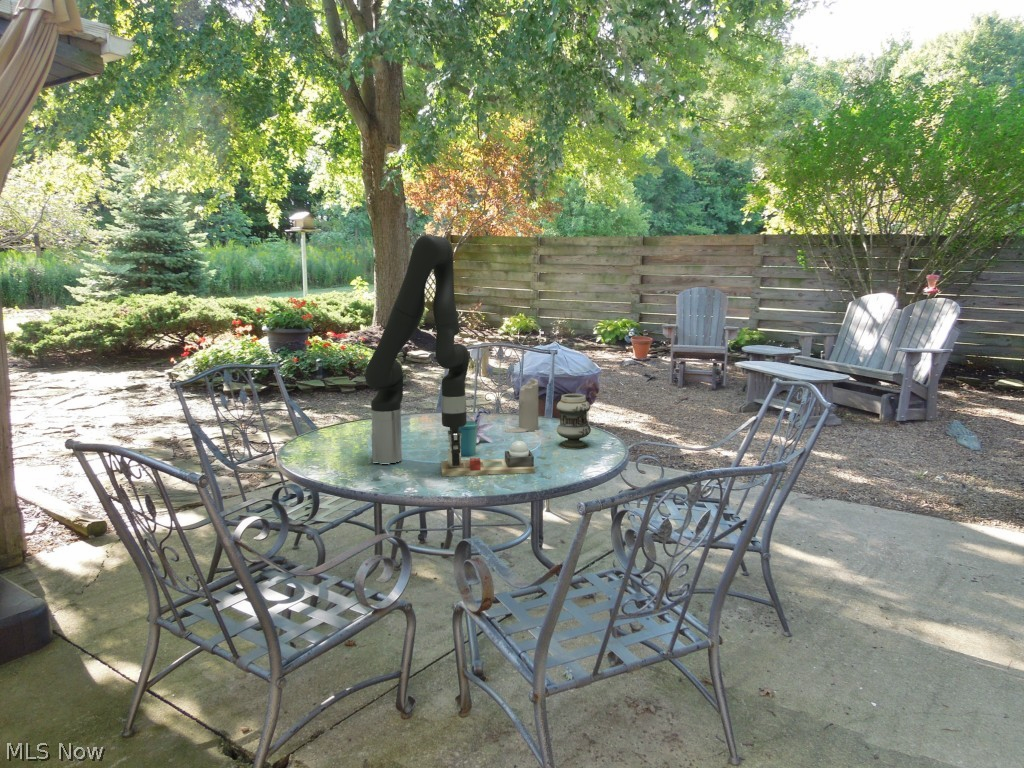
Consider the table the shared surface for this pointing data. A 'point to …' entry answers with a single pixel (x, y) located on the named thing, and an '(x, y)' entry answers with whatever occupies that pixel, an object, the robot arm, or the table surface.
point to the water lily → (481, 428)
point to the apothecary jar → (573, 420)
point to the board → (491, 466)
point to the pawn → (451, 457)
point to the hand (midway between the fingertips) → (455, 461)
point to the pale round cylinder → (519, 449)
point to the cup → (470, 436)
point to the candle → (528, 408)
